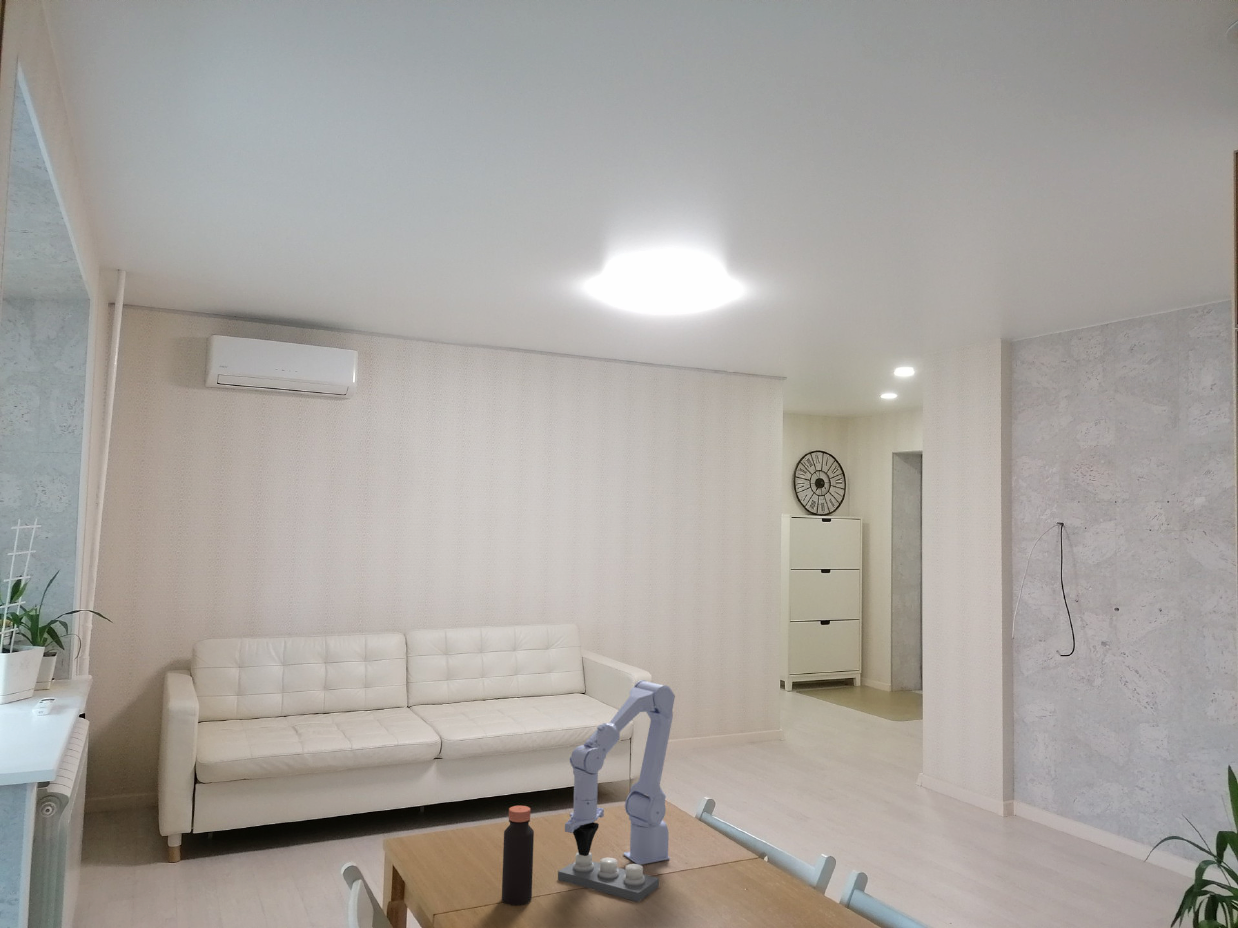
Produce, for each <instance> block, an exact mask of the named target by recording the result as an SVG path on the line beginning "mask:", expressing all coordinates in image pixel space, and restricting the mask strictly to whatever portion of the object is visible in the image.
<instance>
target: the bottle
mask: <svg viewBox="0 0 1238 928" xmlns="http://www.w3.org/2000/svg"><path fill="white" fill-rule="evenodd" d="M531 810H532V809H531V807H529V806H527V805H514V806H511V807H508V822H509V825H508V826H507V827H506V828H505V829H504V832H503V853H502V882H501V883H502V884H501V901H502V902H503V903H504V904H506V905H509V906H524V905H526V904H529V903H530V902H531V901H532V899H533V896H532V895H533V871H534V870H533V866H534V837H535V836H534V835H535V830H534V829H533V828H532V827H531V825H529V823H530V822H531Z"/></svg>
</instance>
